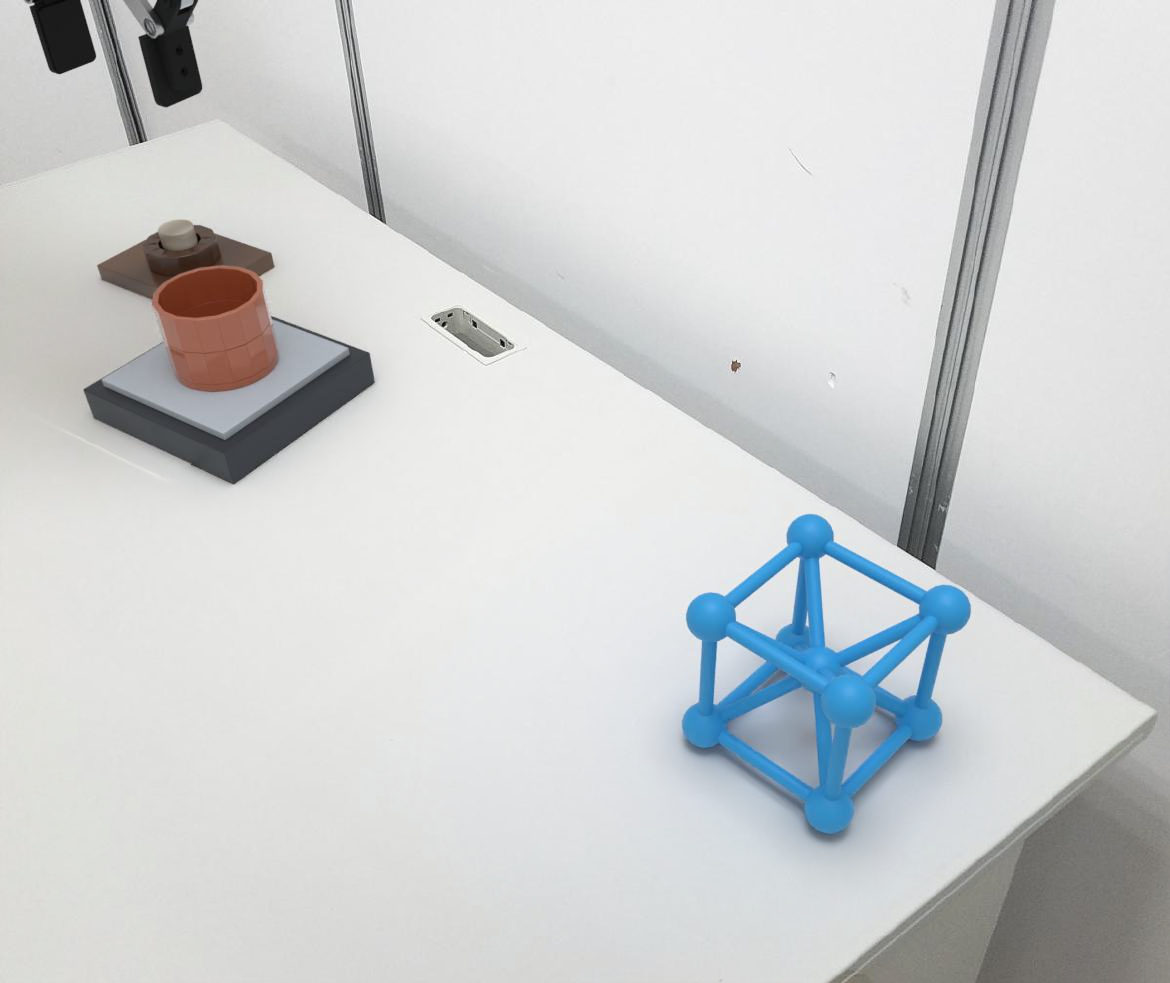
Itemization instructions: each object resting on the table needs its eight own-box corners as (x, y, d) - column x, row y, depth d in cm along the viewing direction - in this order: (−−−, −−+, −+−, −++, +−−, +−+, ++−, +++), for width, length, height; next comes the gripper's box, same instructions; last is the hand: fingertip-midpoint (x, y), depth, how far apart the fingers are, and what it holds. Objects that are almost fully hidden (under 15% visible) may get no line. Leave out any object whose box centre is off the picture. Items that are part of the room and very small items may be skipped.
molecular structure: (790, 637, 67) (807, 498, 60) (947, 731, 62) (985, 590, 55) (671, 740, 62) (675, 600, 55) (832, 852, 57) (858, 712, 50)
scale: (87, 416, 85) (73, 379, 83) (233, 327, 93) (223, 291, 91) (233, 484, 79) (222, 446, 77) (375, 382, 87) (368, 345, 85)
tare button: (155, 247, 98) (150, 229, 97) (181, 233, 99) (176, 216, 98) (179, 256, 96) (174, 238, 95) (205, 241, 98) (200, 224, 97)
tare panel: (101, 280, 99) (90, 246, 97) (184, 236, 105) (175, 203, 103) (193, 316, 95) (183, 282, 93) (275, 268, 100) (267, 234, 98)
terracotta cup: (152, 372, 83) (129, 301, 79) (228, 325, 87) (210, 256, 84) (225, 403, 80) (204, 331, 76) (300, 353, 84) (285, 282, 81)
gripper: (-131, -258, 63) (-14, 74, 75) (82, -227, 56) (174, 135, 68) (-8, -279, 68) (84, 37, 79) (204, -253, 60) (271, 91, 72)
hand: (125, 82), depth 74 cm, fingers open, 9 cm apart
